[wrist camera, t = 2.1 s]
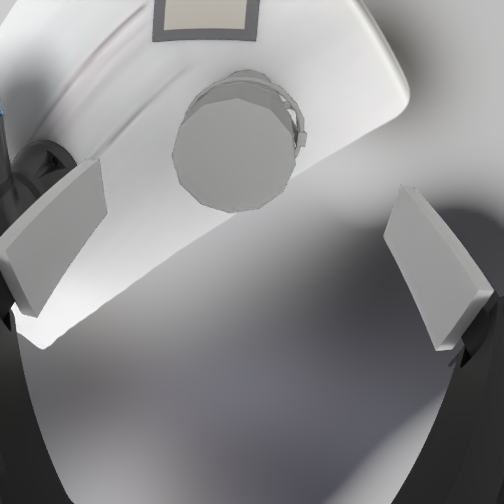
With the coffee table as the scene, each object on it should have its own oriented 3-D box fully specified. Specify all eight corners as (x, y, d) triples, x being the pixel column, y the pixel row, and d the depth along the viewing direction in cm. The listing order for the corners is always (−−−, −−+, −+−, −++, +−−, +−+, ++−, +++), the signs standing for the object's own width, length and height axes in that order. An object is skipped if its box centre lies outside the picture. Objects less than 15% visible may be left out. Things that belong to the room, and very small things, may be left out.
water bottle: (217, 121, 37) (165, 217, 17) (221, 64, 33) (162, 81, 13) (287, 128, 38) (321, 230, 18) (294, 71, 33) (350, 98, 13)
